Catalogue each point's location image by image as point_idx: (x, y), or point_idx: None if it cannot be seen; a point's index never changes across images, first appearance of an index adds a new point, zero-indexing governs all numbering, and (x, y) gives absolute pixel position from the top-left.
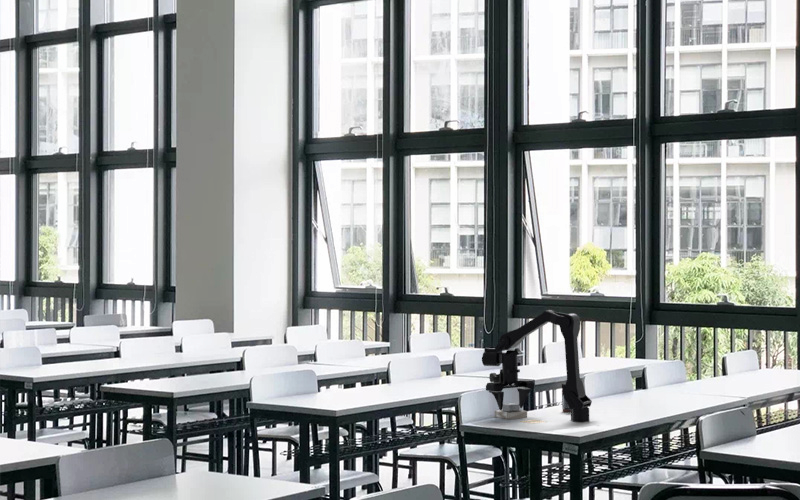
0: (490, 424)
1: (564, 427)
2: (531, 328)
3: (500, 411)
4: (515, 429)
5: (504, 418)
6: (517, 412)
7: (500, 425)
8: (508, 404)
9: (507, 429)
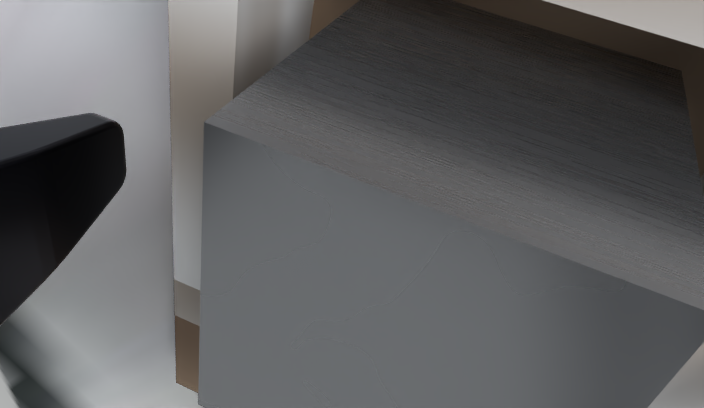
0: (21, 52)
1: None
2: None
3: (193, 59)
4: (82, 404)
5: None
6: None
7: None
8: (278, 336)
9: (31, 356)
